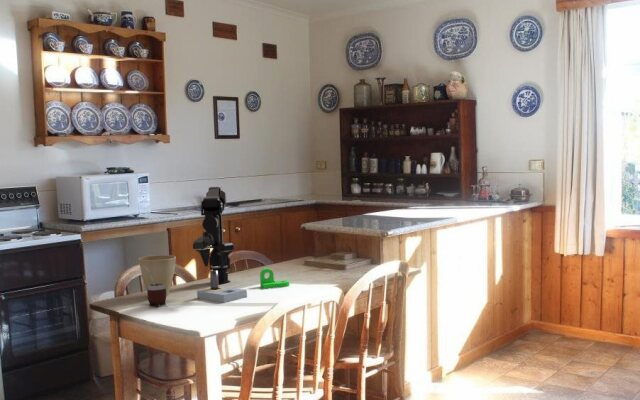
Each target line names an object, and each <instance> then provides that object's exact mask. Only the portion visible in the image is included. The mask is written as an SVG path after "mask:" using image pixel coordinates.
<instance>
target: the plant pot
mask: <svg viewBox="0 0 640 400" xmlns="http://www.w3.org/2000/svg"><path fill="white" fill-rule="evenodd" d="M176 259H177V257H176V256H175V255H170V254H169V255H168V254H166V255H165V254H159V255H157V254H156V255H145V256H141V257H139V258H138V263H139V269H140V273H141V276H142V280H143V283H144V286H145V289H146V291H148V287H149V285H151V284H153V283H152V280H151V277H150V275H149V272H148V271H147V270H146V269H145V268H144V266H145V267H146V268H147V269H148V270H149V271H150V272H151V275H152V278H153V281H154V284H163V285H164V286H165V289H166V297H167V296H168V295H169V292H170V289H171V287H172V282H173V279H174V273H175V269H176V268H175V267H176Z"/></svg>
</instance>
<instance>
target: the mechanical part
mask: <svg viewBox="0 0 640 400" xmlns="http://www.w3.org/2000/svg"><path fill="white" fill-rule="evenodd" d="M273 271H274V270H272V269H270V268H269V267H268V268H267V267H265V268H263V269H262V270H261V271H260V275H259V279H260V280H259V281H260V282H259V283H260V288H262V289H263V290H268V289H269V288H270V289H277V288H279V289H280V288H287V287H289V286H290V281H289V280H287V279H285V280H275V275H274V272H273ZM267 273H268V274H269V276H268V277H266V278H265V274H267Z"/></svg>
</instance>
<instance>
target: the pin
mask: <svg viewBox="0 0 640 400" xmlns="http://www.w3.org/2000/svg"><path fill="white" fill-rule="evenodd" d="M209 276H210V278H209V280H210V288H211V290H218V289H219V286H220V284H218V270H209Z"/></svg>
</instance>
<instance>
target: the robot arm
mask: <svg viewBox="0 0 640 400" xmlns="http://www.w3.org/2000/svg"><path fill="white" fill-rule="evenodd" d="M200 204H201V205H200V206H201V208H200V209H201V210H200V216H204V219H203V220H202V227H203V229H204V231H203V232H202V235H201V236H200V237H198V238H197V239H195V240H194V241H193V243H192V249H193V250H194V251H195V252H197V253H198V254H199V255H200V257H201V259H202V262H203V264H204V267H209V271H211V270H218V284H219V285H221V284H222V285H223V284H226V283H230V282H231V280H229V272H228V270H229V269H232V267H231V266H232V263H231V258H230V256H229V255H230V253H232V252H233V251H234V250H235V245H234V244H233V242H224V234H223V233H224V232H223V231H224V230H223V216H222V215H223V212H224V210H225V208H226V205H227V194H226V192H225V191H223V190H222V188H221V187H219V186H210V187H208V191H207V192H206V193H205V196H204V197H203V199H202V200H201V202H200ZM211 250H212V251H211Z"/></svg>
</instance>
